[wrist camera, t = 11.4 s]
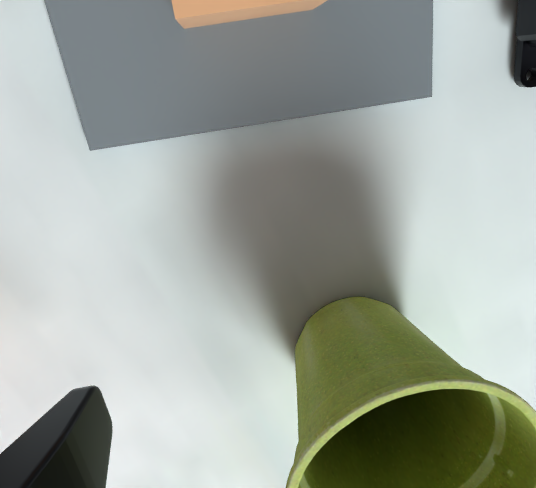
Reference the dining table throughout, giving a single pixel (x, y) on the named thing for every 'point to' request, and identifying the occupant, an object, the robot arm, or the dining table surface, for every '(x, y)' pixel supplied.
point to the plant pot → (400, 409)
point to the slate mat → (235, 65)
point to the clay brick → (234, 10)
